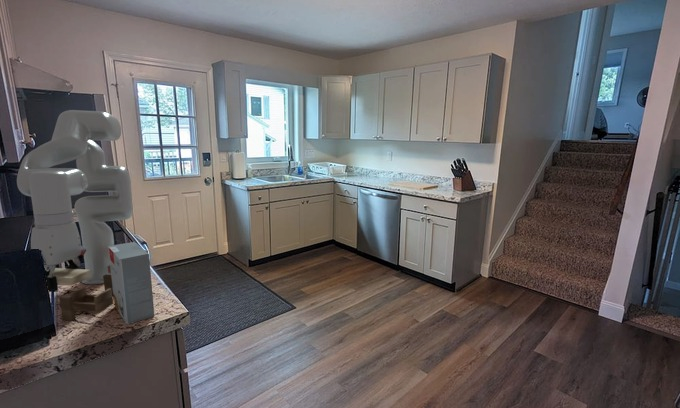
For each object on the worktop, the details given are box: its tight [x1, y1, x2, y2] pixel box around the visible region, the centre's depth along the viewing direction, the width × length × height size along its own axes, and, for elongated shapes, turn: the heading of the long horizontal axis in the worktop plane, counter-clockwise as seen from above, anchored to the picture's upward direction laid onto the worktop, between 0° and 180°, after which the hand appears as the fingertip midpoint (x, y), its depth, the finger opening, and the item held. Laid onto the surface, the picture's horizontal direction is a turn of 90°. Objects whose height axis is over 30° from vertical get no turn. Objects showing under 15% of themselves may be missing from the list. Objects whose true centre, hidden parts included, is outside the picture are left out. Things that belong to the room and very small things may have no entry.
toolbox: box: [58, 274, 114, 322], centre depth 104 cm, size 17×10×7 cm, turn 175°
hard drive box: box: [108, 241, 155, 325], centre depth 101 cm, size 16×8×20 cm, turn 45°
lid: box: [47, 267, 91, 286], centre depth 88 cm, size 6×11×2 cm, turn 85°
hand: (63, 285), depth 88 cm, fingers closed on lid, 6 cm apart
